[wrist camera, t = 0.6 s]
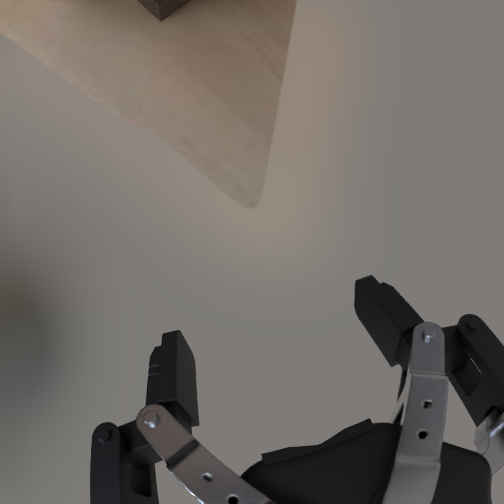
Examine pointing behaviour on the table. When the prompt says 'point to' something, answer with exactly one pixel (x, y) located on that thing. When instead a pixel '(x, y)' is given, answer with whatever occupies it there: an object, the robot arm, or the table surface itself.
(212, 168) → the table surface
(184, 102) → the table surface
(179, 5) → the chest
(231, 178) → the table surface
